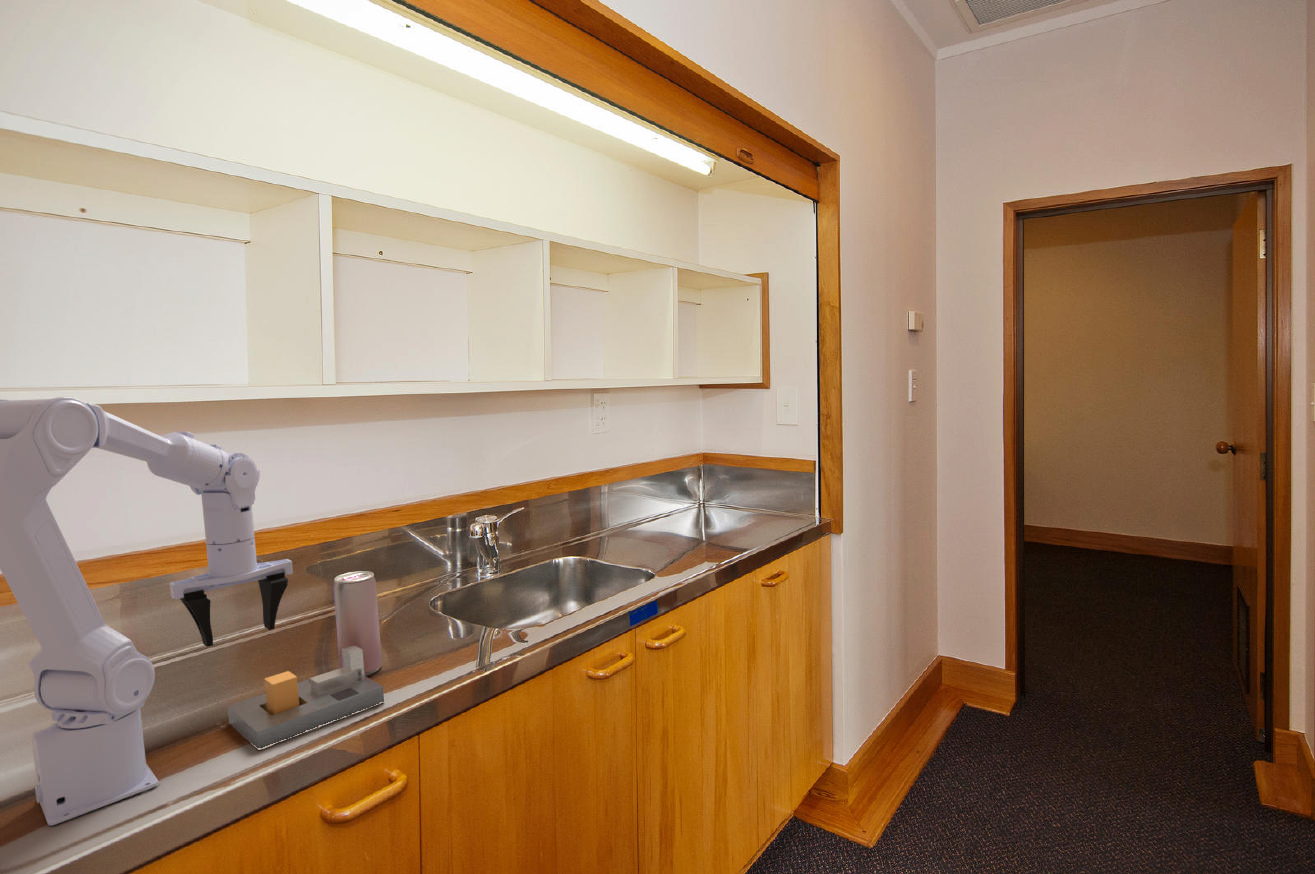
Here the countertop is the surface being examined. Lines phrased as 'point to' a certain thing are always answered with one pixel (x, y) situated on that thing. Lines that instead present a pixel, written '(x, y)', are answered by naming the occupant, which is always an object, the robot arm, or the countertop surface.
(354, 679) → the bracket
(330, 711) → the rosette plate
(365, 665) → the beverage can
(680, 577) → the countertop surface
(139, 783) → the robot arm
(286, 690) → the orange rectangular block
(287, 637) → the countertop surface
